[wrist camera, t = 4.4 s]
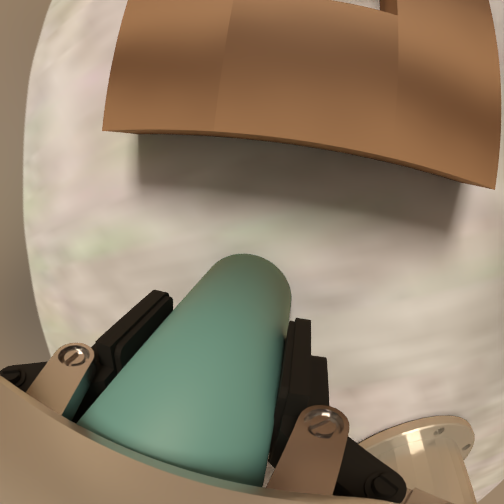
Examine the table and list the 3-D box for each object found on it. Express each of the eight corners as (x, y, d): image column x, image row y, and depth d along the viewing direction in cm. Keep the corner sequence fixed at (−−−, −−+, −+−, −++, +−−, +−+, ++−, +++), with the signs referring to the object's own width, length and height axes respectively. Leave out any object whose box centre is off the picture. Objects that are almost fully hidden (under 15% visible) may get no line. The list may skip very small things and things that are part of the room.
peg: (283, 342, 15) (234, 582, 3) (200, 326, 15) (74, 523, 4) (298, 262, 13) (258, 558, 2) (205, 246, 14) (-2, 438, 3)
